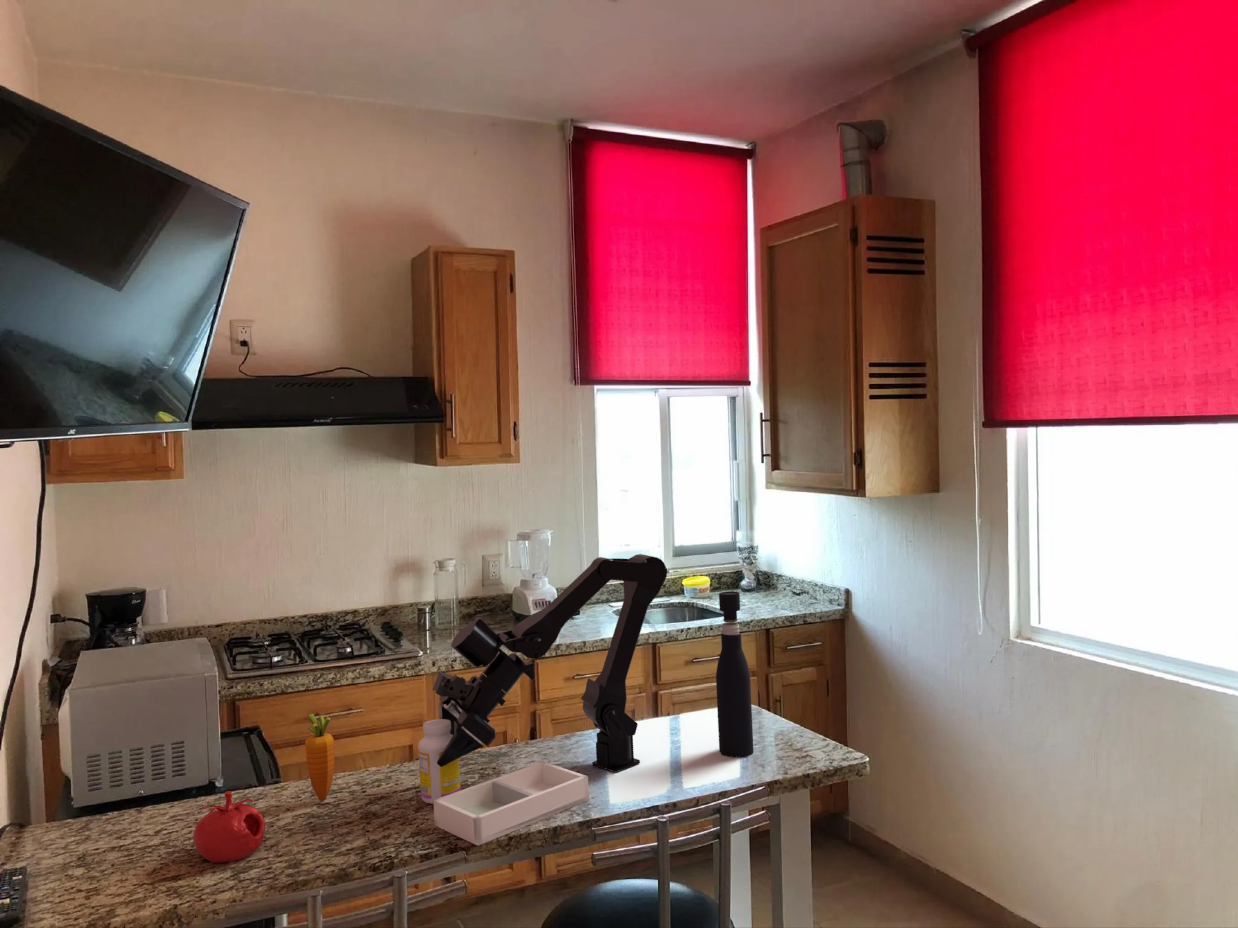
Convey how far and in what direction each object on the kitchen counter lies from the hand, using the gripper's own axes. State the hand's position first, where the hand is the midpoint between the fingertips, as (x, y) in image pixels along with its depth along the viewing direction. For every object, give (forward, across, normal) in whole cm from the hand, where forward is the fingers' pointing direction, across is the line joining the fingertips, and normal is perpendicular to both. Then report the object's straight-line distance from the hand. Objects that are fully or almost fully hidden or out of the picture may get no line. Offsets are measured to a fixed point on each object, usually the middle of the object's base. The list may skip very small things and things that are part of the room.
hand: (433, 756), depth 154 cm
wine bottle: (-34, +5, +44) cm, 56 cm away
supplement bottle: (+4, 0, +6) cm, 7 cm away
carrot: (+18, -9, -7) cm, 21 cm away
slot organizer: (-2, +12, +12) cm, 18 cm away
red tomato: (+28, +7, -17) cm, 33 cm away
